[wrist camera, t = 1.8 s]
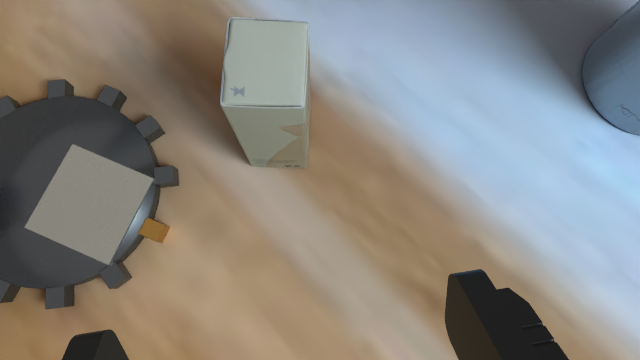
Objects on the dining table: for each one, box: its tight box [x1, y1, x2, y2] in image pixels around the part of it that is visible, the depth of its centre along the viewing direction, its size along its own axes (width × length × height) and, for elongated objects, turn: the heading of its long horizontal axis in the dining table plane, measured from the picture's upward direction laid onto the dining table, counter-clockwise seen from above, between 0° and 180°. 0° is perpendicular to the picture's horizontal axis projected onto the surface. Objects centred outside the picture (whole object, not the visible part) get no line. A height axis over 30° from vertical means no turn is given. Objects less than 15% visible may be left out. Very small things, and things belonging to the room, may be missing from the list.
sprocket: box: [0, 79, 179, 309], centre depth 30 cm, size 16×16×1 cm
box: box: [220, 17, 310, 168], centre depth 27 cm, size 5×4×11 cm
